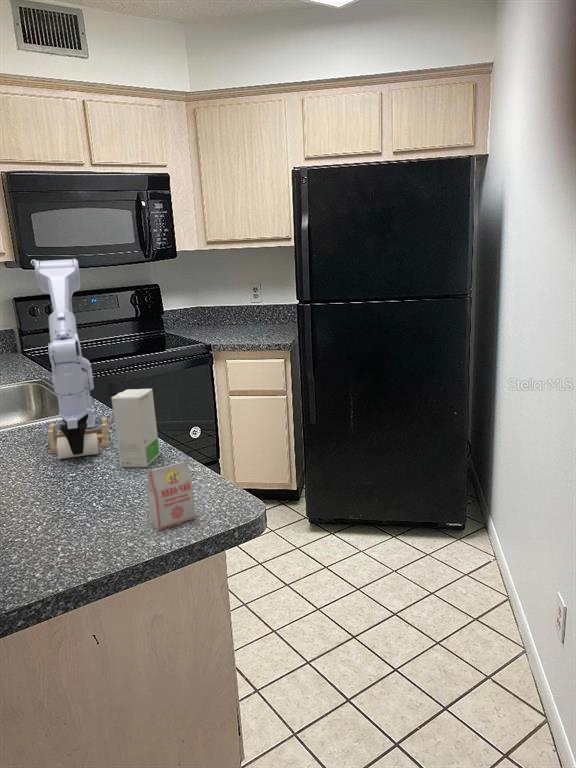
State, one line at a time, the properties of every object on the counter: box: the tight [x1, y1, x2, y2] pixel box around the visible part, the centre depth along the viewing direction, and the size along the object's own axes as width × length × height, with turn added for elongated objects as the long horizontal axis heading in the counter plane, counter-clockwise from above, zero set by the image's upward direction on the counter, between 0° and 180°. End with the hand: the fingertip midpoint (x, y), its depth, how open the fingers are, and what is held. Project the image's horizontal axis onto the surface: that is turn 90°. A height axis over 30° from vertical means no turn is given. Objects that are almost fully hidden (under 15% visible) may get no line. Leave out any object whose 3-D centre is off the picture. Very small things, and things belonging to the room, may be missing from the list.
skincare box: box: [111, 388, 161, 468], centre depth 130 cm, size 8×7×16 cm
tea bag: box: [146, 461, 197, 531], centre depth 102 cm, size 4×7×10 cm, turn 124°
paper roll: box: [57, 433, 100, 460], centre depth 137 cm, size 9×5×5 cm, turn 106°
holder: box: [47, 416, 110, 454], centre depth 144 cm, size 8×13×5 cm, turn 106°
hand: (78, 450), depth 137 cm, fingers closed on paper roll, 5 cm apart
